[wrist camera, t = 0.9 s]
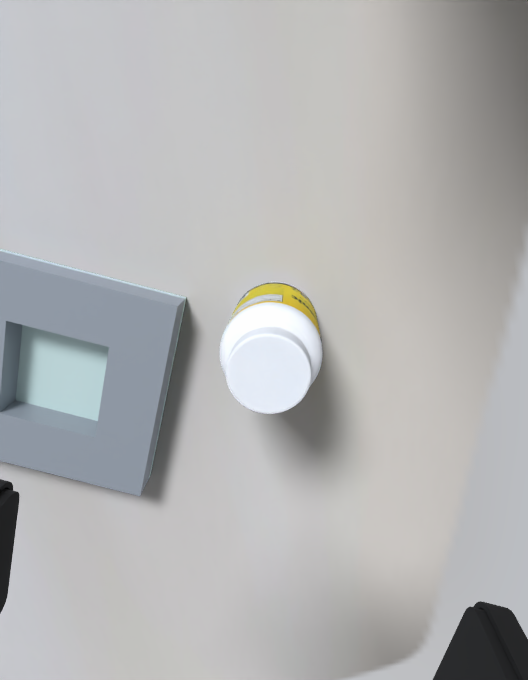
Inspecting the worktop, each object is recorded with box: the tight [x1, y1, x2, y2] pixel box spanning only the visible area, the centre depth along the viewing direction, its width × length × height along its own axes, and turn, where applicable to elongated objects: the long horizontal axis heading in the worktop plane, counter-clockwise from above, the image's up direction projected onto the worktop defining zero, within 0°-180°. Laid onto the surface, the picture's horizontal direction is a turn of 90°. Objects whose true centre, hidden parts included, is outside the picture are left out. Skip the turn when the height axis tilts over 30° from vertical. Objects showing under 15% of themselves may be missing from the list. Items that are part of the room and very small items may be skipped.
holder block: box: [0, 249, 187, 496], centre depth 32 cm, size 14×14×2 cm
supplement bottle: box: [220, 282, 323, 414], centre depth 26 cm, size 5×5×10 cm
